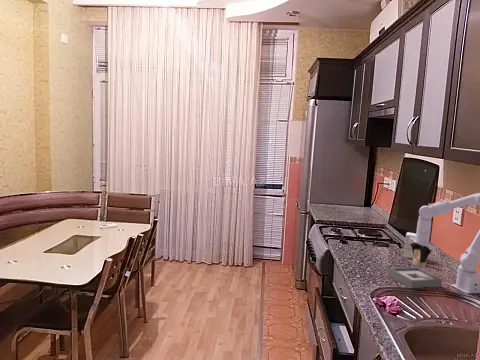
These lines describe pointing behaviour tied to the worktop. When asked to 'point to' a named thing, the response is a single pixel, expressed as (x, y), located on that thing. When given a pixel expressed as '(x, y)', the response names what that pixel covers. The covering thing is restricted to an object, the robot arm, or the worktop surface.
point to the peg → (417, 258)
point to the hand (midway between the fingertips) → (419, 260)
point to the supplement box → (408, 245)
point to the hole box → (414, 277)
